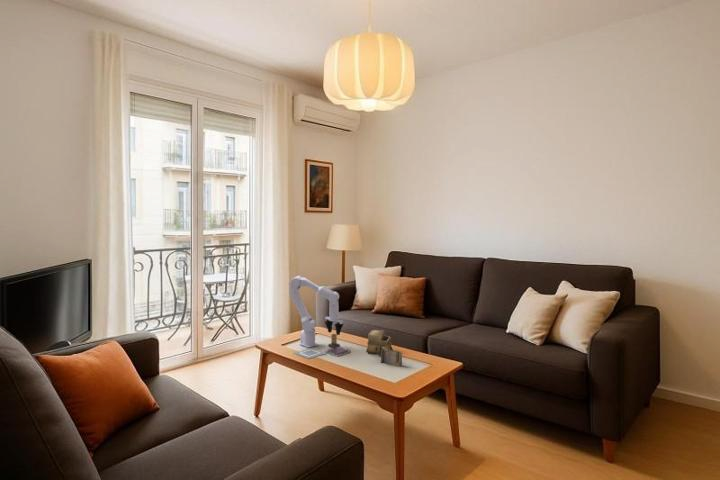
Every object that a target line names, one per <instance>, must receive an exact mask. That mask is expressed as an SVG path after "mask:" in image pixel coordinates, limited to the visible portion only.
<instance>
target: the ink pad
mask: <svg viewBox="0 0 720 480" xmlns="http://www.w3.org/2000/svg"><path fill="white" fill-rule="evenodd" d="M351 352H352V351H351V350H349V349H346V348H344V347H341V346H340V347H336V348H329V349H326V350H324V353H326V354H328V355H332V356H333V357H340V356H343V355H347V354H350V353H351Z"/></svg>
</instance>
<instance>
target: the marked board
mask: <svg viewBox="0 0 720 480" xmlns="http://www.w3.org/2000/svg"><path fill="white" fill-rule="evenodd" d="M293 354H294V355H297V356H300V357H302V358H305V359H307V360H310V359H314V358H316V357H319V356H324V355H326V354H327V353H325V351H321V350H318V349H316V348H312V347H308V348H306V349H303V350H299V351H295V352H294V353H293Z"/></svg>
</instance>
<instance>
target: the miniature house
mask: <svg viewBox="0 0 720 480" xmlns="http://www.w3.org/2000/svg"><path fill="white" fill-rule="evenodd" d="M367 337H368V338H367V343H366V344H367V348H366V350H365V352H366V353H367V354H368V355H376V356H378V357H379V356H380V357H381V350H382V349H384V348H382V347H386V349H389V350H393V347H392V339H391V336H390V335H389V336H388V335H386V334H385V330H383V329H371V331H370V332H368V335H367Z"/></svg>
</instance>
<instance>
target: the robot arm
mask: <svg viewBox="0 0 720 480" xmlns="http://www.w3.org/2000/svg"><path fill="white" fill-rule="evenodd" d="M288 285H289V290H288V291H289V292H288V293H289V295H290V298H291V300H292V302H293V304H294V305H295V308H296V310H297V312H298V314H299V317H300V319H301V325H302V330H301V332H300V334H299V335H300V336H299V341H300V343H299V345H300V346H302V347H306V348H312V347H315V346H318V345H319V344H318V343H316V329H315V327H316V326H317V321H316V320H315V319H313V317H312V315H311V314H309V312H308V311H309V310H308V309H307V307H306V306H305V304H304V301H303V299H302V297H301V295H300V293H299V291H300V289H301V288H302V287H308V288H309V289H311V290H314V291H315V292H317V294H318V295H319V296H321V297H323V298H325V299H327V300H328V302H329V304H328V305H329V307H328V308H329V310H328V311H329V312H328V315H329V316H325V317H324V319H325V321H324V324H325V326H326V328H327V332H328V333H332V332H333V325H334V326H335V331H336V332H335V334H337V336H339V335H340V334H341V331H342V328H343V326H344V320H343V319H341V318H340V317H339V314H340V313H339V308H340V307H339V299H340V294H339V292H337V291H334V290H333V289H332V290H331V289H329V288H327V286H326V285H324V286H322V285H321V286H319V285H317V284H316V283H314V282H312V281H311V280H309V279H308V278H306V277H303V276H302V275H296V276H295V277H292V278H290V281H289V283H288ZM333 323H334V324H333Z"/></svg>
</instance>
